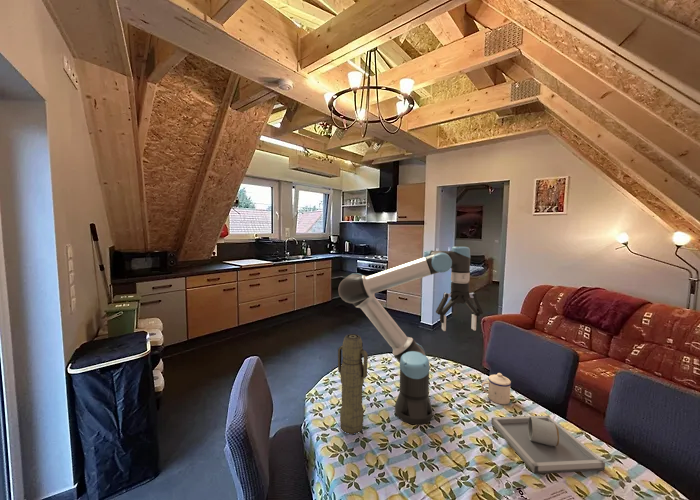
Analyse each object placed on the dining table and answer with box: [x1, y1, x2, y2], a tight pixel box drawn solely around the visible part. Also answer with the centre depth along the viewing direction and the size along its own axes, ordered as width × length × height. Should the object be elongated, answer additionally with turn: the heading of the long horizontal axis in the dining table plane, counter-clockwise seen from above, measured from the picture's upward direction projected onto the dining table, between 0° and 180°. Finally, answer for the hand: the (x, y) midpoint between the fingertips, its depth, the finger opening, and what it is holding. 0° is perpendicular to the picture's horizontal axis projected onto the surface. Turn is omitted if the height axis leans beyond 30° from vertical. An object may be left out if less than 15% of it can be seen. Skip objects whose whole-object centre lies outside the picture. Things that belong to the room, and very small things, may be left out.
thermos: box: [337, 333, 369, 435], centre depth 107 cm, size 9×12×35 cm
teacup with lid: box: [480, 372, 512, 405], centre depth 127 cm, size 12×9×12 cm
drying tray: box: [490, 415, 606, 475], centre depth 99 cm, size 23×23×2 cm
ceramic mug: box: [528, 415, 559, 446], centre depth 101 cm, size 11×8×8 cm
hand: (458, 329), depth 124 cm, fingers open, 13 cm apart
